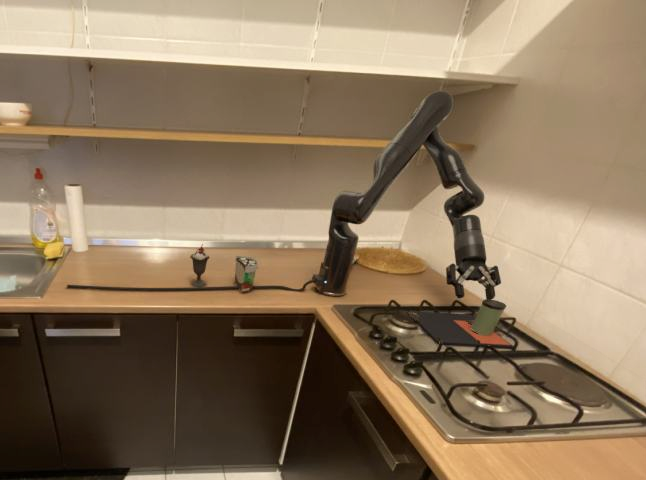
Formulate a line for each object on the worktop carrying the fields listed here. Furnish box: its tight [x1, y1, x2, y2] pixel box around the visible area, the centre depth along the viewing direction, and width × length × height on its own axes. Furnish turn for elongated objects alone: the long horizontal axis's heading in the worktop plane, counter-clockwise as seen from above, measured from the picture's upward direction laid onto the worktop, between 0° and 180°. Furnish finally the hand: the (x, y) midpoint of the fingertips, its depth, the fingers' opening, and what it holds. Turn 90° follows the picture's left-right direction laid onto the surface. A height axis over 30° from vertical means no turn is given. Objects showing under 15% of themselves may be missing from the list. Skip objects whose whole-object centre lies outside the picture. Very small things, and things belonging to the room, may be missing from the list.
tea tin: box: [471, 298, 507, 336], centre depth 108 cm, size 5×5×9 cm
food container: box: [233, 255, 259, 294], centre depth 133 cm, size 12×6×10 cm, turn 9°
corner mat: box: [411, 310, 515, 350], centre depth 113 cm, size 20×20×1 cm
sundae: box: [189, 243, 211, 287], centre depth 133 cm, size 7×7×15 cm
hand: (475, 298), depth 113 cm, fingers open, 8 cm apart
